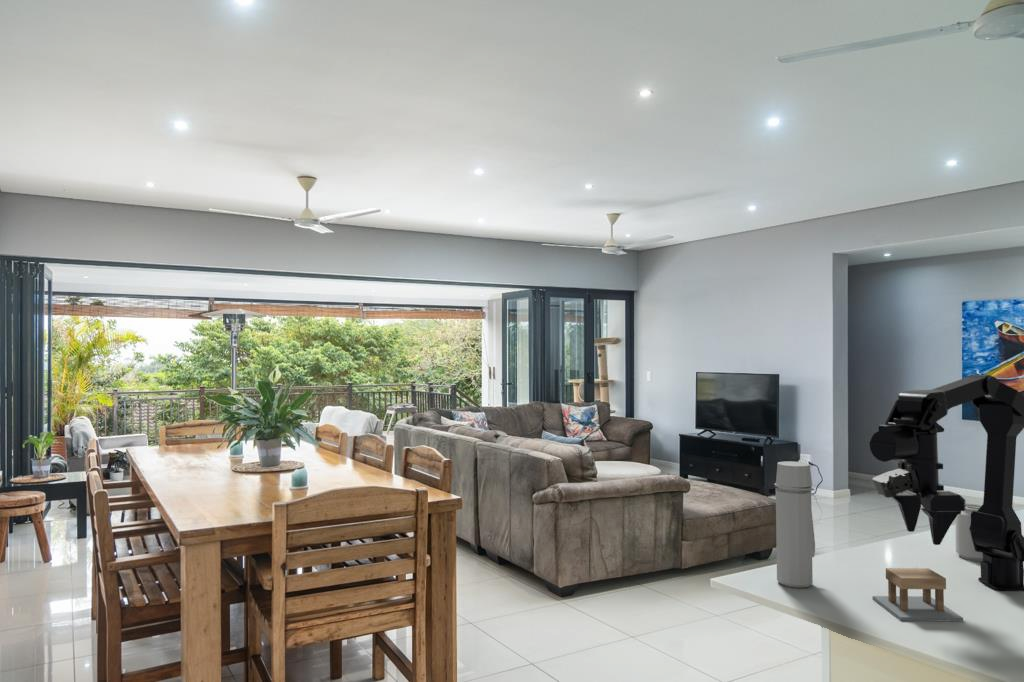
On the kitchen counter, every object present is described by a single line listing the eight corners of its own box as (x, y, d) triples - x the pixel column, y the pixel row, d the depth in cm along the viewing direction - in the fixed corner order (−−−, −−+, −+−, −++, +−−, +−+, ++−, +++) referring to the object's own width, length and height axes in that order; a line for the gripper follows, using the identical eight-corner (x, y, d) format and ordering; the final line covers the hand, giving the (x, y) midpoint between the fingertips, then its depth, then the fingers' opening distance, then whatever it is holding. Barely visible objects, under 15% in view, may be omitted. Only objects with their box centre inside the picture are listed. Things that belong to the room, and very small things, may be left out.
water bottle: (795, 591, 143) (794, 467, 144) (767, 580, 151) (765, 462, 151) (829, 585, 147) (827, 464, 147) (800, 574, 154) (798, 459, 155)
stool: (886, 600, 136) (885, 568, 136) (929, 600, 136) (928, 568, 136) (901, 612, 130) (901, 578, 130) (946, 612, 130) (945, 578, 130)
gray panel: (930, 599, 138) (930, 596, 138) (963, 621, 127) (963, 617, 127) (872, 599, 139) (872, 596, 139) (900, 620, 128) (900, 617, 128)
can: (993, 555, 167) (992, 504, 167) (994, 564, 160) (993, 510, 161) (956, 551, 171) (955, 501, 171) (955, 559, 164) (954, 507, 165)
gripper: (856, 450, 146) (858, 526, 146) (902, 466, 128) (905, 553, 128) (911, 449, 146) (914, 525, 146) (966, 464, 127) (968, 551, 127)
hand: (923, 537), depth 137 cm, fingers open, 9 cm apart
